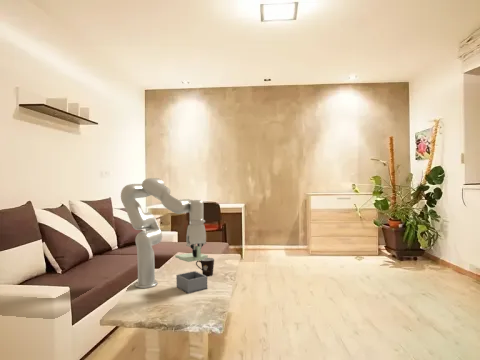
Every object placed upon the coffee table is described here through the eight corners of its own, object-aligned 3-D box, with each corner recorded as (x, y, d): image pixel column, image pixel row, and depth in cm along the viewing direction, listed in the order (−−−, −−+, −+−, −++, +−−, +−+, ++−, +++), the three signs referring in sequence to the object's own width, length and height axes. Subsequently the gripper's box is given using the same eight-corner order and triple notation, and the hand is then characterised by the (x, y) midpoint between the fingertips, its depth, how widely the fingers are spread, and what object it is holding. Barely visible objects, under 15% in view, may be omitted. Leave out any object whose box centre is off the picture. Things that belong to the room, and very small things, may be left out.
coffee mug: (217, 274, 211) (217, 259, 211) (207, 277, 204) (206, 261, 204) (205, 271, 219) (205, 256, 219) (195, 274, 212) (194, 258, 212)
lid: (175, 259, 187) (174, 245, 187) (195, 256, 194) (194, 242, 194) (189, 263, 173) (188, 248, 173) (210, 259, 180) (209, 245, 181)
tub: (176, 287, 187) (176, 274, 187) (195, 282, 194) (195, 271, 194) (188, 293, 176) (187, 280, 176) (207, 288, 183) (207, 276, 183)
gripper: (205, 220, 187) (205, 253, 187) (180, 223, 178) (180, 257, 178) (212, 222, 181) (212, 255, 181) (186, 224, 172) (186, 259, 172)
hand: (196, 256), depth 180 cm, fingers closed on lid, 1 cm apart
